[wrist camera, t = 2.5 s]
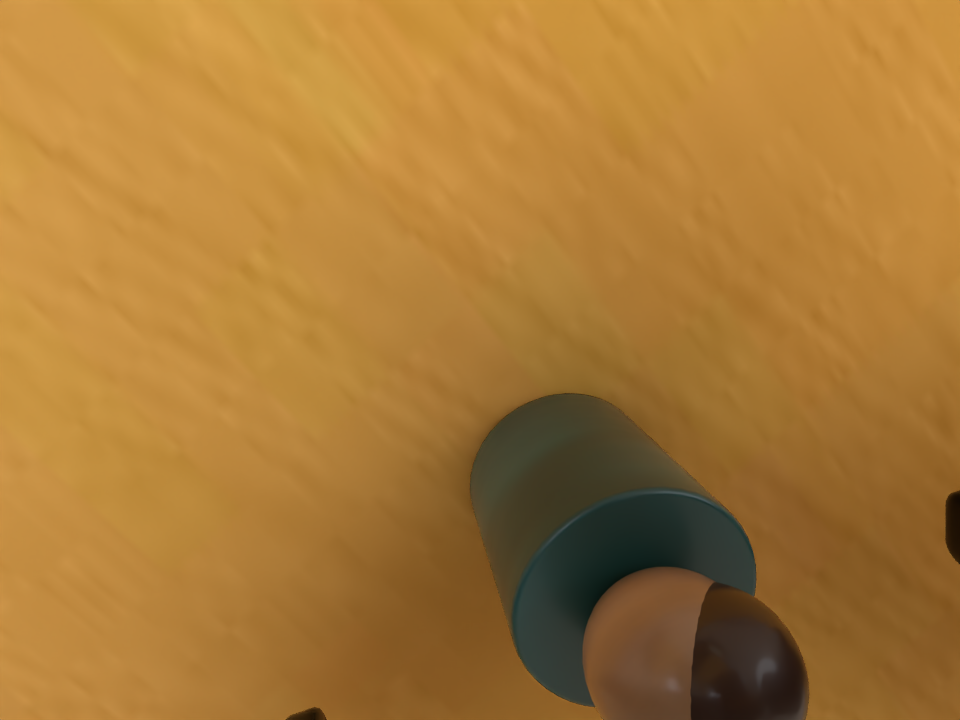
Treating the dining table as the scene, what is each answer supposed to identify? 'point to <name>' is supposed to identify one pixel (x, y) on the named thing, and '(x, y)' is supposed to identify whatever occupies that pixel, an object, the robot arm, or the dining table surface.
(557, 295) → the dining table surface
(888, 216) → the dining table surface
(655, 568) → the doll
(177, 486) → the dining table surface
